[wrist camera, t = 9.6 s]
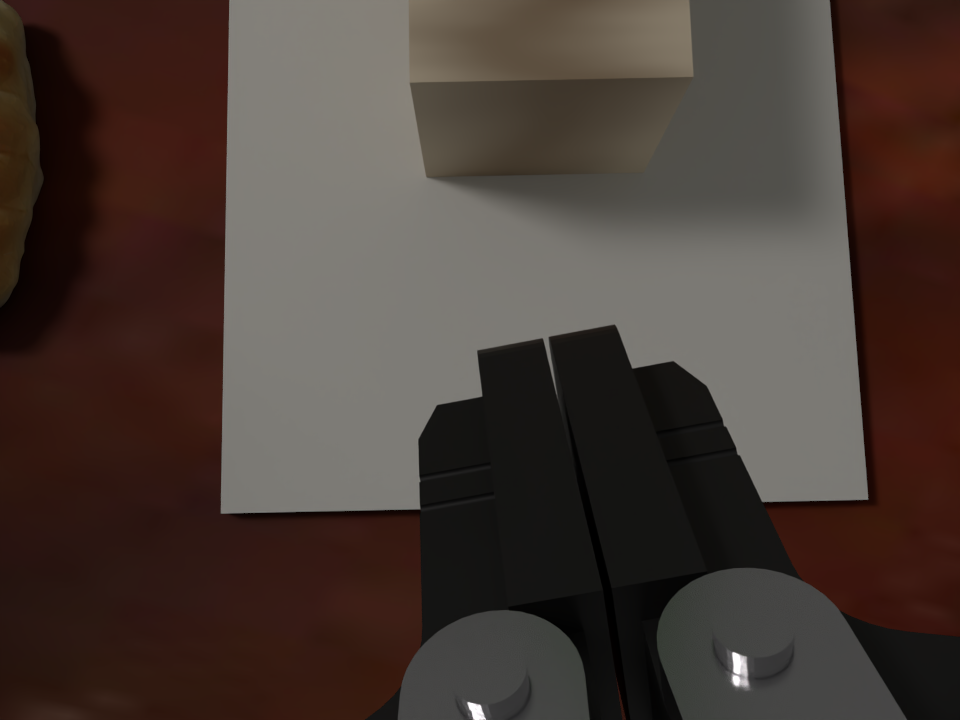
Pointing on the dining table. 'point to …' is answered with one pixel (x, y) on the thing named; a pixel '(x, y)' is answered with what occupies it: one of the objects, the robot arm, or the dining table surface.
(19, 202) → the pastry
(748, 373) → the grey mat
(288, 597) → the dining table surface
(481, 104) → the maple block
